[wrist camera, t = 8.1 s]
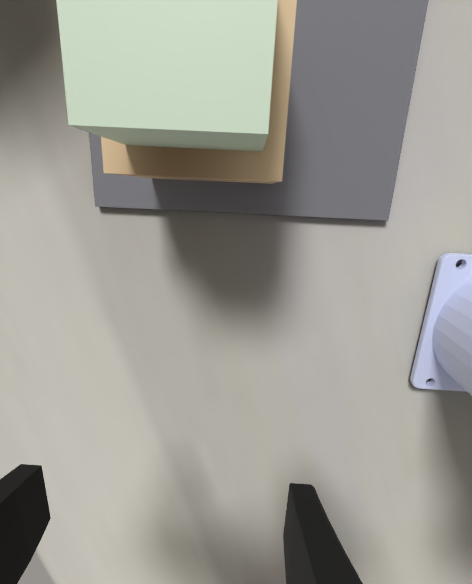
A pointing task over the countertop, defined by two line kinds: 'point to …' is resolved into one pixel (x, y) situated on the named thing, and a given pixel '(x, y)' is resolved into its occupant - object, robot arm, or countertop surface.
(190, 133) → the sage block
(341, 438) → the countertop surface
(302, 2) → the mat
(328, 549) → the robot arm
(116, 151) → the oak slab upper
